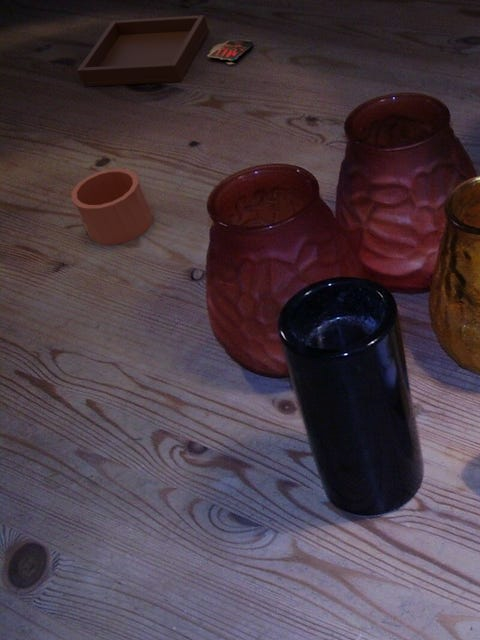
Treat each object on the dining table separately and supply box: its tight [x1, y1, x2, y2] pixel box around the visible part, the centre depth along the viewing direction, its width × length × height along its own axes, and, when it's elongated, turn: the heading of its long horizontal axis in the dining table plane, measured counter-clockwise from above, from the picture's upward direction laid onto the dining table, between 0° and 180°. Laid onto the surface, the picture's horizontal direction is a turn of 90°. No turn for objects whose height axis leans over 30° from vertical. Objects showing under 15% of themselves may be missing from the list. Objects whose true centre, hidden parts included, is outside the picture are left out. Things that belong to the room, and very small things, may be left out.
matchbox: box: [207, 38, 254, 66], centre depth 111 cm, size 5×5×1 cm
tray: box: [76, 14, 210, 88], centre depth 112 cm, size 11×11×2 cm
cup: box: [71, 167, 155, 246], centre depth 89 cm, size 6×6×4 cm
